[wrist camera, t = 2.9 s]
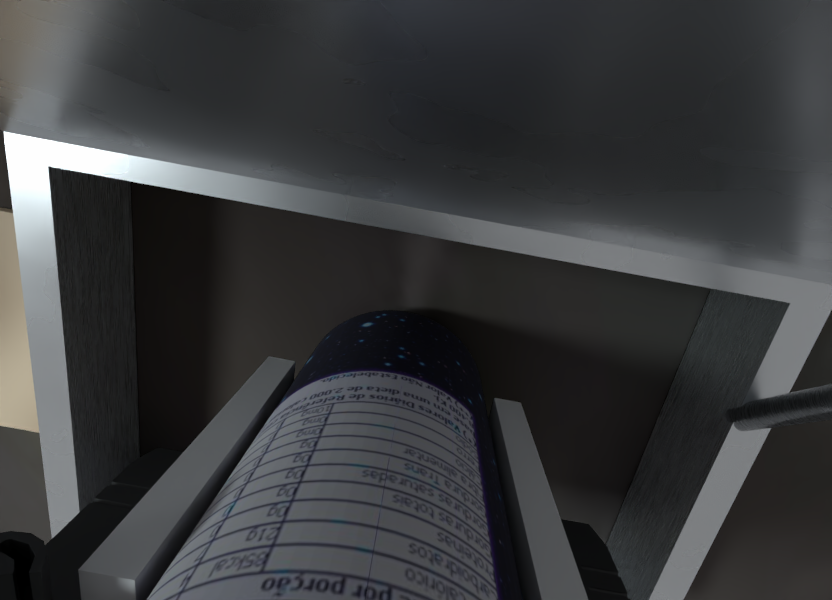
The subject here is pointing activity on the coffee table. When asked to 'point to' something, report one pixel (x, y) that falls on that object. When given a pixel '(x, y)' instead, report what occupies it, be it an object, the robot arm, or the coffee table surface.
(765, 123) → the case
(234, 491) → the beverage can
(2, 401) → the pad
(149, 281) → the coffee table surface
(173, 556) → the robot arm
